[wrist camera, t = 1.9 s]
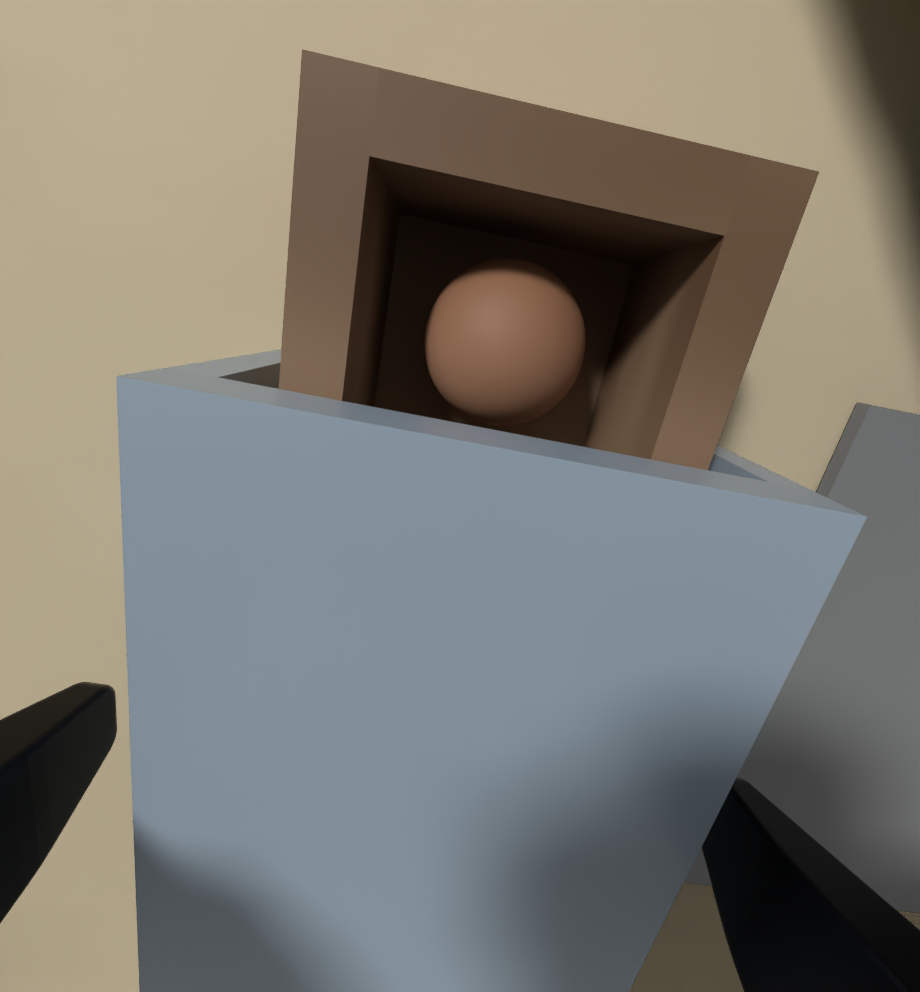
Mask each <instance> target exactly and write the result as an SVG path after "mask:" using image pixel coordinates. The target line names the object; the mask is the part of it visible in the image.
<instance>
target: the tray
mask: <svg viewBox="0 0 920 992" xmlns="http://www.w3.org/2000/svg"><path fill="white" fill-rule="evenodd" d="M818 174H819V172H818V171H813V170H809V169H805V168H801V167H796V166H792V165H788V164H784V163H780V162H775V161H771V160H767V159H763V158H758V157H754V156H750V155H746V154H742V153H737V152H733V151H729V150H725V149H720V148H716V147H712V146H708V145H704V144H699V143H695V142H691V141H687V140H682V139H678V138H674V137H670V136H665V135H661V134H657V133H653V132H649V131H644V130H640V129H636V128H632V127H627V126H623V125H619V124H615V123H611V122H606V121H602V120H598V119H594V118H589V117H585V116H581V115H577V114H572V113H568V112H564V111H560V110H556V109H551V108H547V107H543V106H539V105H534V104H530V103H526V102H522V101H518V100H513V99H509V98H505V97H501V96H496V95H492V94H488V93H484V92H480V91H475V90H471V89H467V88H463V87H458V86H454V85H450V84H446V83H441V82H437V81H433V80H429V79H425V78H420V77H416V76H412V75H408V74H403V73H399V72H395V71H391V70H387V69H382V68H378V67H374V66H370V65H365V64H361V63H357V62H353V61H348V60H344V59H340V58H336V57H332V56H327V55H323V54H319V53H315V52H310V51H306V50H302V60H301V74H300V89H299V103H298V118H297V132H296V146H295V161H294V175H293V190H292V204H291V218H290V233H289V247H288V262H287V276H286V290H285V305H284V319H283V334H282V348H281V362H280V377H279V389H282V390H287V391H292V392H298V393H303V394H308V395H313V396H319V397H324V398H329V399H335V400H340V401H345V402H350V403H356V404H361V405H366V406H371V407H377V408H382V409H387V410H392V411H398V412H403V413H408V414H414V415H419V416H424V417H429V418H435V419H440V420H445V421H450V422H456V423H461V424H466V425H471V426H477V427H482V428H487V429H493V430H498V431H503V432H508V433H514V434H519V435H524V436H529V437H535V438H540V439H545V440H550V441H556V442H561V443H566V444H572V445H577V446H582V447H587V448H593V449H598V450H603V451H608V452H614V453H619V454H624V455H629V456H635V457H640V458H645V459H651V460H656V461H661V462H666V463H672V464H677V465H682V466H687V467H693V468H698V469H703V470H708V468H709V465H710V463H711V460H712V457H713V455H714V452H715V449H716V447H717V444H718V441H719V439H720V436H721V433H722V431H723V428H724V425H725V422H726V420H727V417H728V414H729V412H730V409H731V406H732V404H733V401H734V398H735V396H736V393H737V390H738V388H739V385H740V382H741V380H742V377H743V374H744V372H745V369H746V366H747V364H748V361H749V358H750V356H751V353H752V350H753V348H754V345H755V342H756V340H757V337H758V334H759V331H760V329H761V326H762V323H763V321H764V318H765V315H766V313H767V310H768V307H769V305H770V302H771V299H772V297H773V294H774V291H775V289H776V286H777V283H778V281H779V278H780V275H781V273H782V270H783V267H784V265H785V262H786V259H787V257H788V254H789V251H790V249H791V246H792V243H793V240H794V238H795V235H796V232H797V230H798V227H799V224H800V222H801V219H802V216H803V214H804V211H805V208H806V206H807V203H808V200H809V198H810V195H811V192H812V190H813V187H814V184H815V182H816V179H817V176H818Z"/></svg>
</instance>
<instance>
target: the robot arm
mask: <svg viewBox="0 0 920 992" xmlns="http://www.w3.org/2000/svg"><path fill="white" fill-rule="evenodd" d="M116 733H117V719H116V697H115V691H114V689H113V688H112V687H111V686H109V685H104V684H97V683H90V682H81V683H77V684H75V685H72V686H70V687H68V688H66V689H64V690H62V691H60V692H58V693H56V694H54V695H51V696H49V697H47V698H45V699H43V700H41V701H39V702H37V703H35V704H33V705H30V706H28V707H26V708H24V709H22V710H20V711H18V712H16V713H14V714H12V715H9V716H7V717H5V718H3V719H1V720H0V923H1V922H2V920H3V919H4V918H5V916H6V915H7V913H8V912H9V910H10V909H11V908H12V906H13V905H14V903H15V902H16V901H17V899H18V898H19V896H20V895H21V894H22V892H23V891H24V889H25V888H26V887H27V885H28V884H29V882H30V881H31V879H32V878H33V876H34V875H35V873H36V872H37V871H38V869H39V868H40V866H41V865H42V863H43V861H44V860H45V858H46V857H47V855H48V853H49V852H50V850H51V849H52V847H53V845H54V844H55V842H56V840H57V839H58V837H59V835H60V834H61V832H62V830H63V829H64V827H65V825H66V824H67V822H68V820H69V818H70V817H71V815H72V813H73V812H74V810H75V808H76V807H77V805H78V803H79V802H80V800H81V798H82V797H83V795H84V793H85V791H86V790H87V788H88V786H89V785H90V783H91V781H92V780H93V778H94V776H95V775H96V773H97V771H98V769H99V768H100V766H101V764H102V763H103V761H104V759H105V758H106V756H107V754H108V753H109V751H110V749H111V747H112V745H113V743H114V740H115V737H116ZM701 848H702V851H703V855H704V859H705V862H706V866H707V870H708V873H709V877H710V881H711V885H712V888H713V892H714V896H715V899H716V903H717V907H718V910H719V914H720V918H721V922H722V925H723V929H724V932H725V936H726V939H727V942H728V946H729V949H730V952H731V955H732V958H733V961H734V964H735V967H736V970H737V973H738V976H739V978H740V981H741V984H742V987H743V990H744V992H920V930H919V929H918V928H917V927H915V926H914V925H913V924H912V923H911V922H910V921H909V920H907V919H906V918H905V917H904V916H903V915H902V914H900V913H899V912H898V911H897V910H896V909H895V908H893V907H892V906H891V905H890V904H889V903H888V902H887V901H885V900H884V899H883V898H882V897H881V896H880V895H878V894H877V893H876V892H875V891H874V890H873V889H871V888H870V887H869V886H868V885H867V884H866V883H865V882H863V881H862V880H861V879H860V878H859V877H858V876H856V875H855V874H854V873H853V872H852V871H851V870H850V869H848V868H847V867H846V866H845V865H844V864H843V863H841V862H840V861H839V860H838V859H837V858H836V857H834V856H833V855H832V854H831V853H830V852H829V851H828V850H826V849H825V848H824V847H823V846H822V845H821V844H819V843H818V842H817V841H816V840H815V839H814V838H812V837H811V836H810V835H809V834H808V833H807V832H806V831H804V830H803V829H802V828H801V827H800V826H799V825H797V824H796V823H795V822H794V821H793V820H792V819H791V818H789V817H788V816H787V815H786V814H785V813H784V812H782V811H781V810H780V809H779V808H778V807H777V806H775V805H774V804H773V803H772V802H771V801H770V800H769V799H767V798H766V797H765V796H764V795H763V794H762V793H760V792H759V791H758V790H757V789H756V788H755V787H753V786H752V785H751V784H750V783H749V782H747V781H746V780H744V779H742V778H738V777H736V779H735V781H734V783H733V785H732V787H731V789H730V791H729V793H728V795H727V797H726V799H725V801H724V803H723V805H722V807H721V809H720V811H719V813H718V815H717V817H716V819H715V821H714V823H713V825H712V827H711V829H710V831H709V833H708V835H707V837H706V839H705V841H704V843H703V845H702V847H701Z"/></svg>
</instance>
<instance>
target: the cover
mask: <svg viewBox="0 0 920 992" xmlns="http://www.w3.org/2000/svg"><path fill="white" fill-rule="evenodd" d="M280 362H281V350H275V351H269V352H263V353H256V354H250V355H244V356H238V357H232V358H225V359H219V360H213V361H207V362H201V363H194V364H188V365H182V366H176V367H170V368H163V369H157V370H151V371H145V372H139V373H132V374H126V375H120V376H116V377H117V404H118V430H119V456H120V483H121V509H122V536H123V562H124V589H125V615H126V642H127V668H128V695H129V721H130V748H131V774H132V801H133V827H134V854H135V880H136V907H137V933H138V960H139V986H140V992H629V991H630V989H631V987H632V985H633V983H634V981H635V979H636V977H637V975H638V973H639V971H640V969H641V967H642V965H643V963H644V961H645V959H646V957H647V955H648V953H649V951H650V949H651V947H652V945H653V943H654V941H655V939H656V937H657V935H658V933H659V931H660V929H661V927H662V925H663V923H664V921H665V919H666V917H667V915H668V913H669V911H670V909H671V907H672V905H673V903H674V901H675V899H676V897H677V895H678V893H679V891H680V889H681V887H682V885H683V883H684V881H685V879H686V877H687V875H688V873H689V871H690V869H691V867H692V865H693V863H694V861H695V859H696V857H697V855H698V853H699V851H700V849H701V847H702V845H703V843H704V841H705V839H706V837H707V835H708V833H709V831H710V829H711V827H712V825H713V823H714V821H715V819H716V817H717V815H718V813H719V811H720V809H721V807H722V805H723V803H724V801H725V799H726V797H727V795H728V793H729V791H730V789H731V787H732V785H733V783H734V781H735V779H736V777H737V775H738V773H739V771H740V769H741V767H742V765H743V763H744V761H745V759H746V758H747V756H748V754H749V752H750V750H751V748H752V746H753V744H754V742H755V740H756V738H757V736H758V734H759V732H760V730H761V728H762V726H763V724H764V722H765V720H766V718H767V716H768V714H769V712H770V710H771V708H772V706H773V704H774V702H775V700H776V698H777V696H778V694H779V692H780V690H781V688H782V686H783V684H784V682H785V680H786V678H787V676H788V674H789V672H790V670H791V668H792V666H793V664H794V662H795V660H796V658H797V656H798V654H799V652H800V650H801V648H802V646H803V644H804V642H805V640H806V638H807V636H808V634H809V632H810V630H811V628H812V626H813V624H814V622H815V620H816V618H817V616H818V614H819V612H820V610H821V608H822V606H823V604H824V602H825V600H826V598H827V596H828V594H829V592H830V590H831V588H832V586H833V584H834V582H835V580H836V578H837V576H838V574H839V572H840V570H841V568H842V566H843V564H844V562H845V560H846V558H847V556H848V554H849V552H850V550H851V548H852V546H853V544H854V542H855V540H856V538H857V536H858V534H859V532H860V530H861V528H862V526H863V524H864V522H865V520H866V518H867V516H865V515H862V514H860V513H858V512H856V511H854V510H852V509H850V508H848V507H846V506H844V505H841V504H839V503H837V502H835V501H833V500H831V499H829V498H827V497H825V496H823V495H821V494H818V493H816V492H814V491H812V490H810V489H808V488H806V487H804V486H802V485H800V484H798V483H795V482H793V481H791V480H789V479H787V478H785V477H783V476H781V475H779V474H777V473H774V472H772V471H770V470H768V469H766V468H764V467H762V466H760V465H758V464H756V463H754V462H751V461H749V460H747V459H745V458H743V457H741V456H739V455H737V454H735V453H733V452H731V451H728V450H726V449H724V448H722V447H720V446H718V445H717V447H716V449H715V452H714V455H713V457H712V460H711V463H710V465H709V468H708V470H703V469H698V468H693V467H687V466H682V465H677V464H672V463H666V462H661V461H656V460H651V459H645V458H640V457H635V456H629V455H624V454H619V453H614V452H608V451H603V450H598V449H593V448H587V447H582V446H577V445H572V444H566V443H561V442H556V441H550V440H545V439H540V438H535V437H529V436H524V435H519V434H514V433H508V432H503V431H498V430H493V429H487V428H482V427H477V426H471V425H466V424H461V423H456V422H450V421H445V420H440V419H435V418H429V417H424V416H419V415H414V414H408V413H403V412H398V411H392V410H387V409H382V408H377V407H371V406H366V405H361V404H356V403H350V402H345V401H340V400H335V399H329V398H324V397H319V396H313V395H308V394H303V393H298V392H292V391H287V390H282V389H279V377H280Z"/></svg>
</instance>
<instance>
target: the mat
mask: <svg viewBox="0 0 920 992" xmlns="http://www.w3.org/2000/svg"><path fill="white" fill-rule="evenodd" d="M816 493H818V494H821V495H823V496H825V497H827V498H829V499H831V500H833V501H835V502H837V503H839V504H841V505H844V506H846V507H848V508H850V509H852V510H854V511H856V512H858V513H860V514H862V515H865V516H867V518H866V520H865V522H864V524H863V526H862V528H861V530H860V532H859V534H858V536H857V538H856V540H855V542H854V544H853V546H852V548H851V550H850V552H849V554H848V556H847V558H846V560H845V562H844V564H843V566H842V568H841V570H840V572H839V574H838V576H837V578H836V580H835V582H834V584H833V586H832V588H831V590H830V592H829V594H828V596H827V598H826V600H825V602H824V604H823V606H822V608H821V610H820V612H819V614H818V616H817V618H816V620H815V622H814V624H813V626H812V628H811V630H810V632H809V634H808V636H807V638H806V640H805V642H804V644H803V646H802V648H801V650H800V652H799V654H798V656H797V658H796V660H795V662H794V664H793V666H792V668H791V670H790V672H789V674H788V676H787V678H786V680H785V682H784V684H783V686H782V688H781V690H780V692H779V694H778V696H777V698H776V700H775V702H774V704H773V706H772V708H771V710H770V712H769V714H768V716H767V718H766V720H765V722H764V724H763V726H762V728H761V730H760V732H759V734H758V736H757V738H756V740H755V742H754V744H753V746H752V748H751V750H750V752H749V754H748V756H747V758H746V759H745V761H744V763H743V765H742V767H741V769H740V771H739V773H738V775H737V777H738V778H742V779H744V780H746V781H747V782H749V783H750V784H751V785H752V786H753V787H755V788H756V789H757V790H758V791H759V792H760V793H762V794H763V795H764V796H765V797H766V798H767V799H769V800H770V801H771V802H772V803H773V804H774V805H775V806H777V807H778V808H779V809H780V810H781V811H782V812H784V813H785V814H786V815H787V816H788V817H789V818H791V819H792V820H793V821H794V822H795V823H796V824H797V825H799V826H800V827H801V828H802V829H803V830H804V831H806V832H807V833H808V834H809V835H810V836H811V837H812V838H814V839H815V840H816V841H817V842H818V843H819V844H821V845H822V846H823V847H824V848H825V849H826V850H828V851H829V852H830V853H831V854H832V855H833V856H834V857H836V858H837V859H838V860H839V861H840V862H841V863H843V864H844V865H845V866H846V867H847V868H848V869H850V870H851V871H852V872H853V873H854V874H855V875H856V876H858V877H859V878H860V879H861V880H862V881H863V882H865V883H866V884H867V885H868V886H869V887H870V888H871V889H873V890H874V891H875V892H876V893H877V894H878V895H880V896H881V897H882V898H883V899H884V900H885V901H887V902H888V903H889V904H890V905H891V906H892V907H893V908H895V909H896V910H899V911H907V912H915V913H920V415H917V414H912V413H907V412H902V411H897V410H892V409H887V408H882V407H877V406H872V405H868V404H863V403H858V402H857V404H856V406H855V408H854V411H853V413H852V415H851V417H850V419H849V421H848V424H847V426H846V428H845V430H844V432H843V435H842V437H841V439H840V441H839V443H838V446H837V448H836V450H835V452H834V454H833V457H832V459H831V461H830V463H829V465H828V467H827V470H826V472H825V474H824V476H823V478H822V481H821V483H820V485H819V487H818V489H817V492H816ZM684 883H692V884H700V885H707V886H712V885H711V881H710V877H709V873H708V870H707V866H706V862H705V859H704V855H703V851H702V848H701V849H700V851H699V853H698V855H697V857H696V859H695V861H694V863H693V865H692V867H691V869H690V871H689V873H688V875H687V877H686V879H685V881H684Z"/></svg>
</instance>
